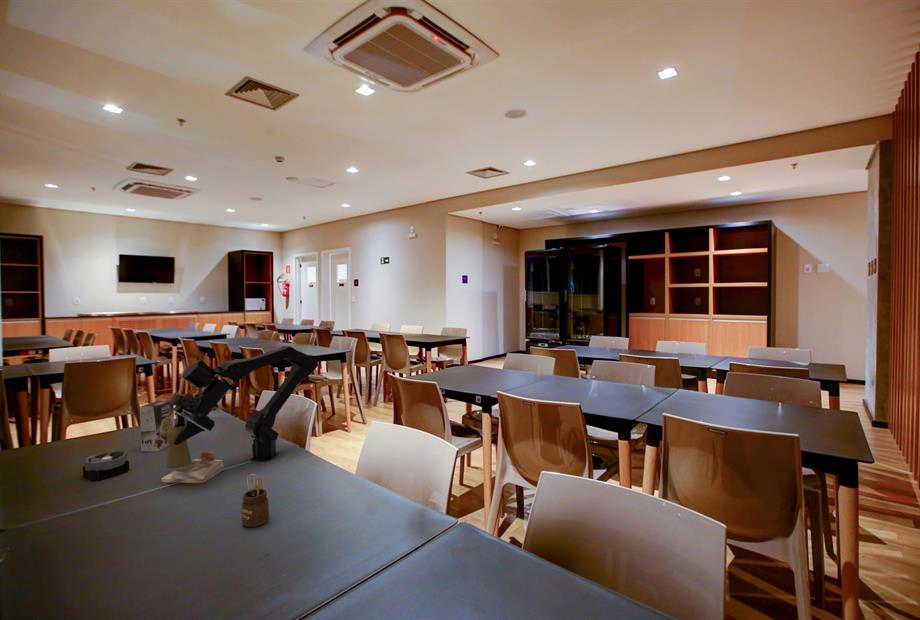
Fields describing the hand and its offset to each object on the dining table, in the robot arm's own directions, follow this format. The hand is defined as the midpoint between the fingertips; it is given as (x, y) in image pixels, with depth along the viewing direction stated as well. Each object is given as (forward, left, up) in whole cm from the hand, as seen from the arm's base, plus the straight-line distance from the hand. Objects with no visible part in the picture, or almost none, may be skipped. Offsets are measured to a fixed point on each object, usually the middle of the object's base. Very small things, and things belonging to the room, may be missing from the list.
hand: (172, 442), depth 127 cm
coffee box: (+28, -28, -12) cm, 42 cm away
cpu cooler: (+26, -5, -13) cm, 30 cm away
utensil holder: (-36, +19, -12) cm, 42 cm away
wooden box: (-2, -6, -12) cm, 14 cm away
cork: (-1, -1, -7) cm, 7 cm away
